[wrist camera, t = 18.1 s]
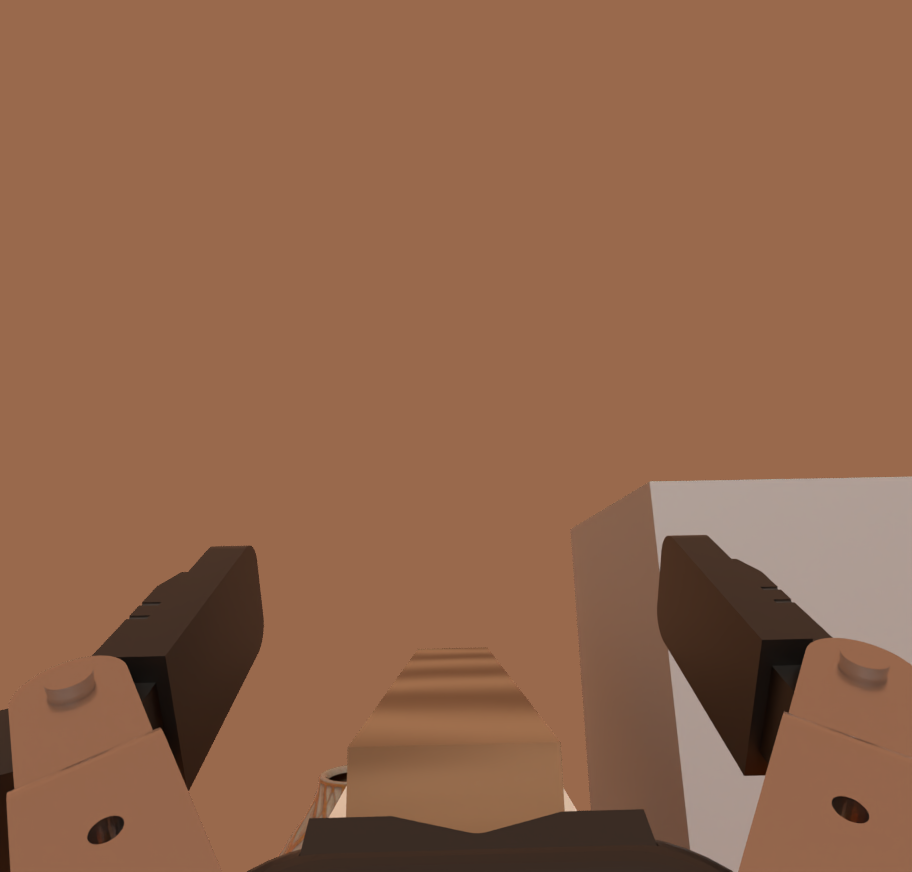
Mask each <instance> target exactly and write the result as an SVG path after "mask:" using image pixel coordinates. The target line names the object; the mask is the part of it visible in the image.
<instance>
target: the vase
mask: <svg viewBox="0 0 912 872" xmlns="http://www.w3.org/2000/svg"><path fill="white" fill-rule="evenodd" d="M346 786H347V765H346V766H341V767H336V768H332V769H329V770H327V771H325V772H323V773H322V774H321V775H320V776H319V783H318V788H317V792H316V794H315V797H314V799H313V801H312V803H311V806H310V808H309V810H308V812H307V814H306V815H305V817H304V818H303V820H302V821H301V822H300V824H299V825H298V827H297V828H296V829H295V831H294V832H293V834H292V835H291V837H290V838H289V839H288V841H287V843H286V844H285V845H284V847H283V849H282V850H281V852H280V853H279V855H278V856H277V857H279V856H281V855H284V854H287V853H289V852H293V851H296V850H300V849H301V848H302V844H303V840H304V836H305V832H306V829H307V825H308V821H309V818H329V816H330V814H331V813H332V811H333V809H334V807H335V806H336V804H337V802H338V800H339V799H340V797H341V795H342V793H343V791H344V790H345V788H346Z"/></svg>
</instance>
